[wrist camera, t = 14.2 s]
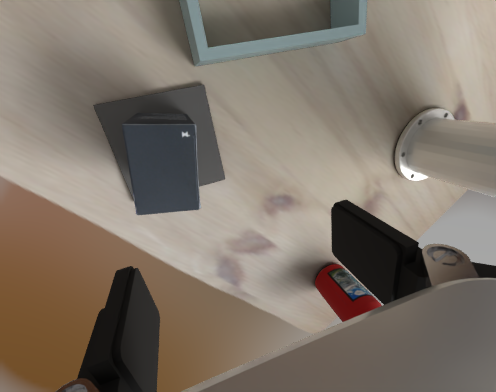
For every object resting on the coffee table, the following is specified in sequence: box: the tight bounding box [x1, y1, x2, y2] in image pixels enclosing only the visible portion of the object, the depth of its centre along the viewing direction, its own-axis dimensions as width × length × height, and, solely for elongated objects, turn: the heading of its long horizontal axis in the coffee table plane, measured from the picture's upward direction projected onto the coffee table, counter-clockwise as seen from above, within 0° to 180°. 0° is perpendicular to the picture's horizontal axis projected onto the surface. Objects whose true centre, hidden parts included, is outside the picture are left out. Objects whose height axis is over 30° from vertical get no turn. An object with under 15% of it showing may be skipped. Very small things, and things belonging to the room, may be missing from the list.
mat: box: [93, 85, 225, 200], centre depth 29 cm, size 12×12×1 cm
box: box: [122, 113, 201, 215], centre depth 24 cm, size 8×6×11 cm
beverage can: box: [315, 264, 382, 322], centre depth 43 cm, size 7×7×12 cm
